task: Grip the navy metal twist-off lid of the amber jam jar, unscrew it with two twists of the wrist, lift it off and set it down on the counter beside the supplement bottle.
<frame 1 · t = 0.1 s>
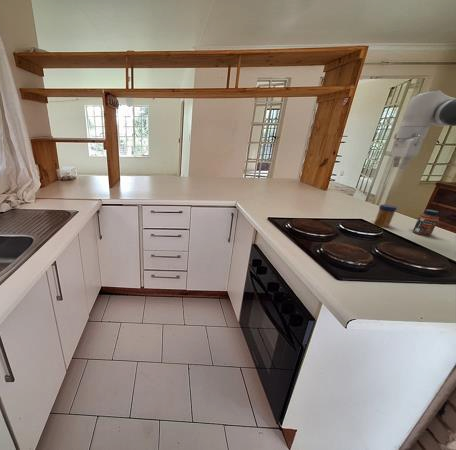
hand: (398, 167, 104), 29 cm above the worktop, tool pointing down, fingers open, 8 cm apart
jam jar: (381, 225, 120), on the worktop
jar lid: (388, 206, 116), point 10 cm above the worktop, screwed on, not yet turned
supplement bottle: (421, 234, 110), on the worktop
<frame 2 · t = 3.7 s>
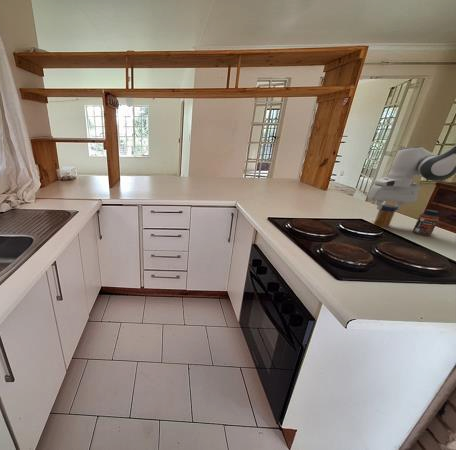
hand: (387, 209, 117), 8 cm above the worktop, tool pointing down, fingers closed on jar lid, 6 cm apart
jar lid: (388, 206, 116), point 10 cm above the worktop, screwed on, not yet turned, touching gripper
everything else where it was.
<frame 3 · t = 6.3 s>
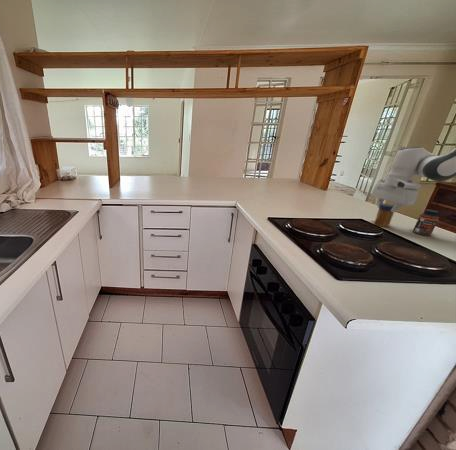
hand: (386, 209, 117), 8 cm above the worktop, tool pointing down, fingers closed on jar lid, 6 cm apart
jam jar: (381, 225, 120), on the worktop, touching gripper
jar lid: (387, 206, 116), point 10 cm above the worktop, turned 90° so far, risen 0.2 cm, still on its thread, touching gripper
everything else where it was.
when the fingers open (7 cm above the worktop, at t = 8.6 s): jar lid stays where it is, point 10 cm above the worktop.
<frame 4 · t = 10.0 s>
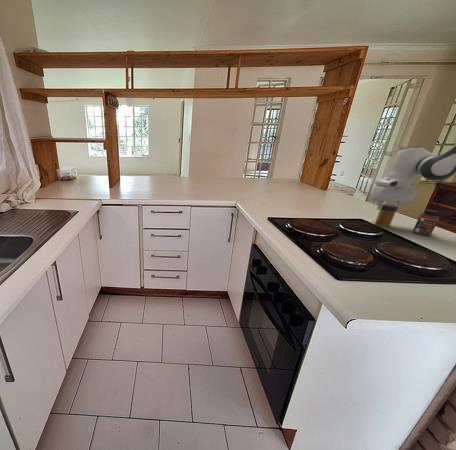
hand: (387, 209, 117), 8 cm above the worktop, tool pointing down, fingers open, 7 cm apart
jam jar: (382, 225, 120), on the worktop
jar lid: (389, 206, 116), point 10 cm above the worktop, turned 86° so far, risen 0.2 cm, still on its thread
everything else where it was.
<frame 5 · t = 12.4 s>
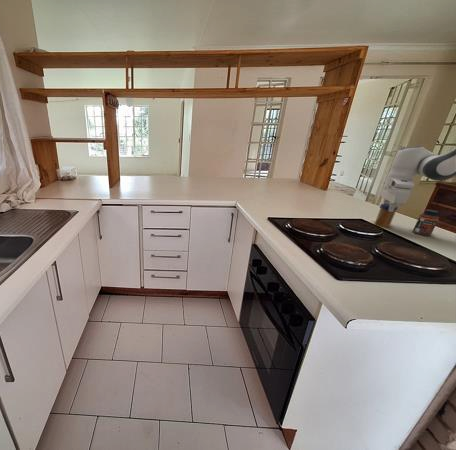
hand: (387, 209, 116), 8 cm above the worktop, tool pointing down, fingers closed on jar lid, 6 cm apart
jar lid: (389, 206, 116), point 10 cm above the worktop, off its thread, touching gripper
everything else where it was.
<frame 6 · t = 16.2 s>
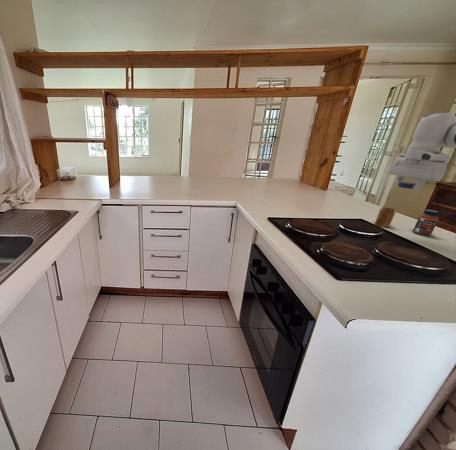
hand: (407, 188, 102), 21 cm above the worktop, tool pointing down, fingers closed on jar lid, 6 cm apart
jar lid: (408, 184, 101), point 23 cm above the worktop, off its thread, touching gripper
everything else where it was.
when the fingers open (0 cm above the worktop, at t = 21.8 s): jar lid stays where it is, point 1 cm above the worktop.
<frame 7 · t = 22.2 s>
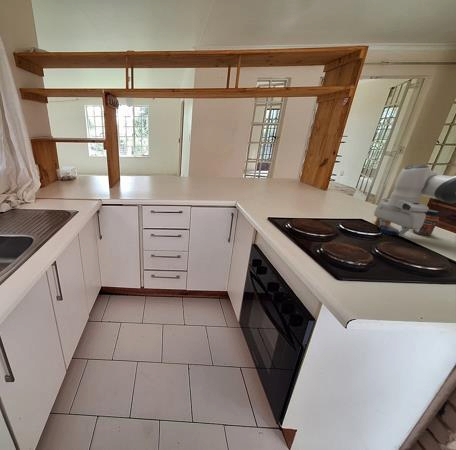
hand: (390, 231, 108), 1 cm above the worktop, tool pointing down, fingers open, 8 cm apart
jar lid: (389, 229, 109), point 1 cm above the worktop, off its thread
everything else where it was.
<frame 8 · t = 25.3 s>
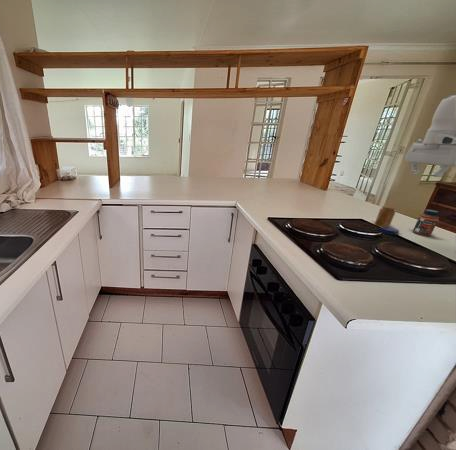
hand: (425, 175, 97), 27 cm above the worktop, tool pointing down, fingers open, 8 cm apart
nothing on the worktop moved.
at the end: jar lid came off its thread; jar lid point 1.5 cm above the worktop; the gripper is holding nothing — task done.
